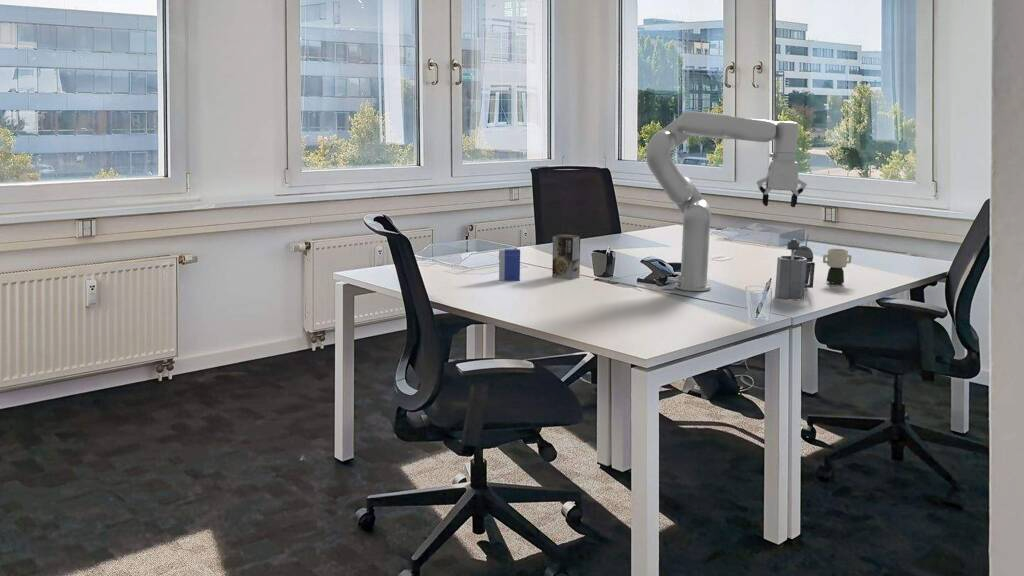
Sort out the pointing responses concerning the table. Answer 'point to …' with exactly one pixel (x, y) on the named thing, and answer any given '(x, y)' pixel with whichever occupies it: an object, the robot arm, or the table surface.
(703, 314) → the table surface
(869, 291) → the table surface
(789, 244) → the plunger
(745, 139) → the robot arm
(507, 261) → the walkman
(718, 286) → the table surface
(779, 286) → the carafe
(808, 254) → the beverage cup
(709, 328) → the table surface
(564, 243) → the coffee box
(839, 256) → the character mug
